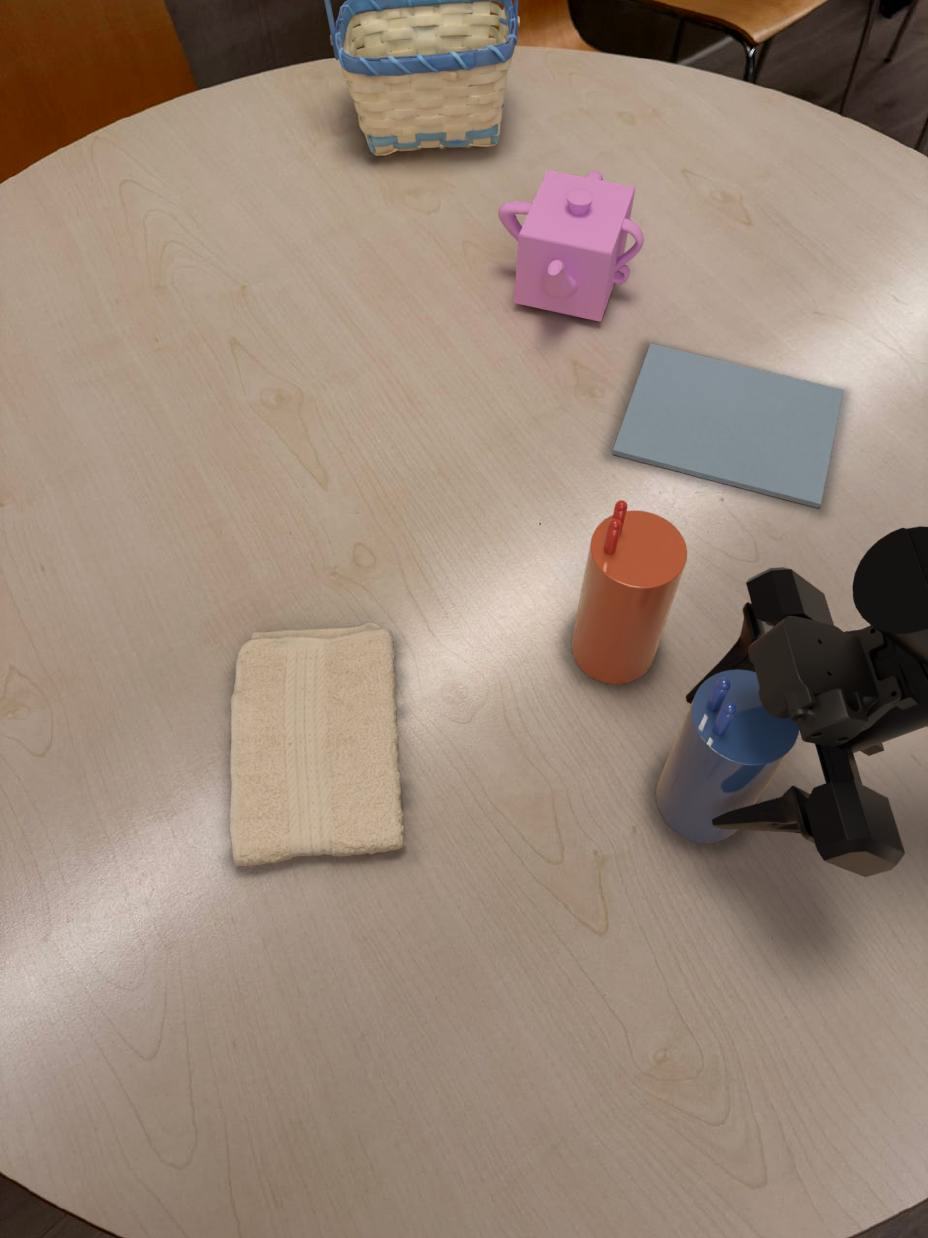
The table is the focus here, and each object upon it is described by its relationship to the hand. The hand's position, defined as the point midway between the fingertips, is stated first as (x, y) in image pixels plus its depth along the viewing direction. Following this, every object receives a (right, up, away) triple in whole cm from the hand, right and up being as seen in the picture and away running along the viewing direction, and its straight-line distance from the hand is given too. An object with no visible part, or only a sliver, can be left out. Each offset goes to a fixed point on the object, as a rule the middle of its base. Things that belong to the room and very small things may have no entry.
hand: (701, 760), depth 67 cm
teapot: (-6, +41, +34) cm, 54 cm away
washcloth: (-26, 0, +8) cm, 27 cm away
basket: (-20, +64, +48) cm, 83 cm away
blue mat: (+8, +27, +25) cm, 37 cm away
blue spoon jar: (+1, -4, +6) cm, 7 cm away
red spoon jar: (-4, +7, +12) cm, 15 cm away
